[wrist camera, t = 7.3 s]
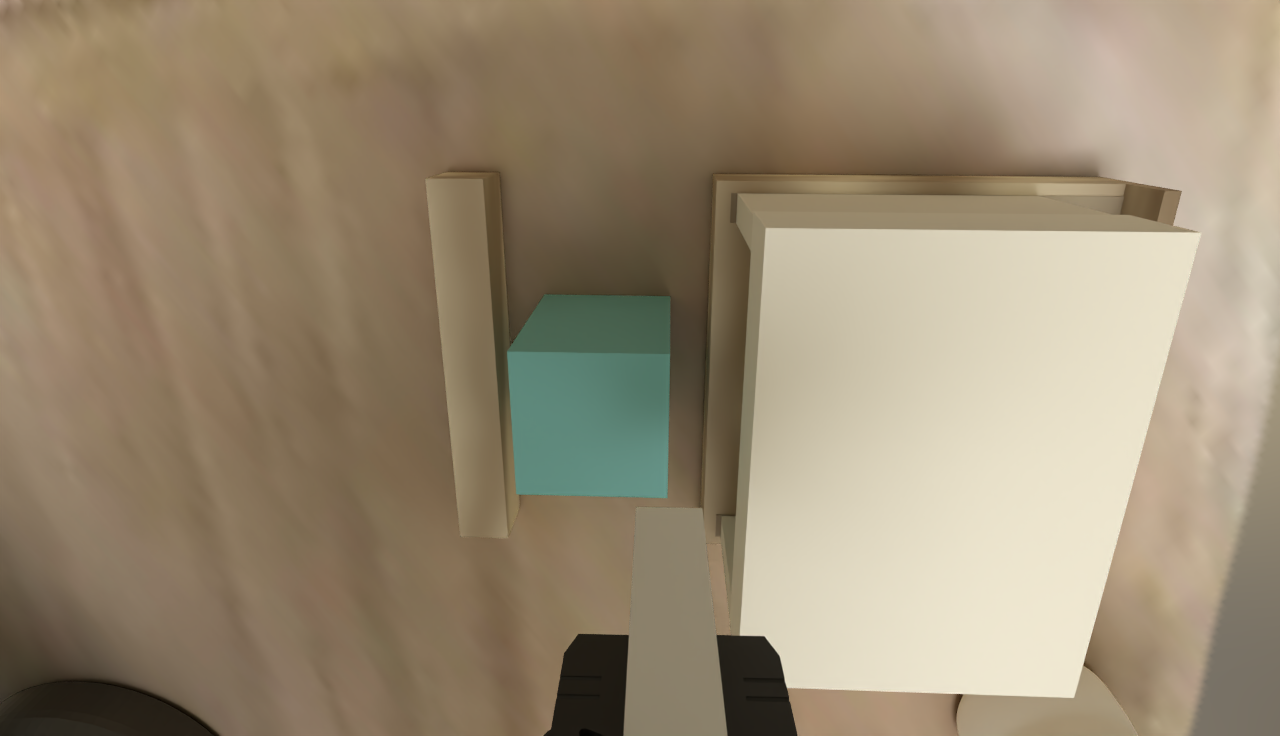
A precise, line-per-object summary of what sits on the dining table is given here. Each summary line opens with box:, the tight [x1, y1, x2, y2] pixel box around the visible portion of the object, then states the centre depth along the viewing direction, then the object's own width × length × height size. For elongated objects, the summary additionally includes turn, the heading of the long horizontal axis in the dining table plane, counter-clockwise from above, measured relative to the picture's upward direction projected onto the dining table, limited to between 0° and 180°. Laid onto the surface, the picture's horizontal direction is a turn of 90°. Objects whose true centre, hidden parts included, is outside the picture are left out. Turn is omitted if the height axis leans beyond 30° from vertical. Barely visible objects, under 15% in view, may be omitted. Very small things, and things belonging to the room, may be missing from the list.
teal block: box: [507, 294, 670, 498], centre depth 26 cm, size 5×5×7 cm
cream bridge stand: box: [721, 193, 1201, 698], centre depth 23 cm, size 10×14×8 cm
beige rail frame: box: [425, 172, 1182, 544], centre depth 27 cm, size 24×14×4 cm, turn 90°
